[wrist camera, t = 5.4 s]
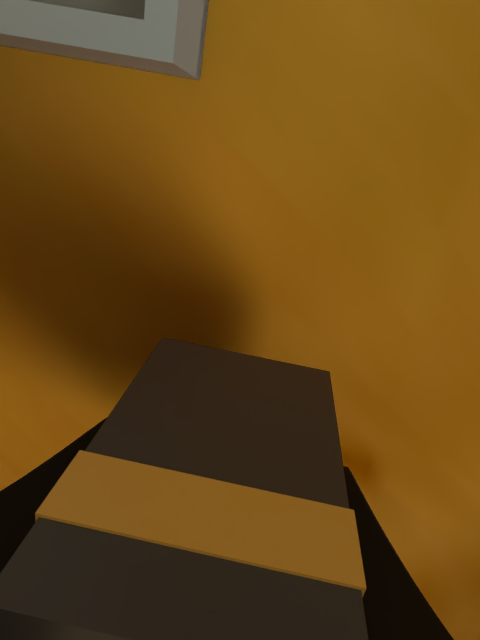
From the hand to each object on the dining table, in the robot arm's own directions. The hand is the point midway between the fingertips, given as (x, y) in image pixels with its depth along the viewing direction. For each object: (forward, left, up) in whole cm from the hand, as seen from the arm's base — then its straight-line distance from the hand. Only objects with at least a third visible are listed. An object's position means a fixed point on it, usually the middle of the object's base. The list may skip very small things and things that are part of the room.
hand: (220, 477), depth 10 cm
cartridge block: (0, 0, -2) cm, 2 cm away
